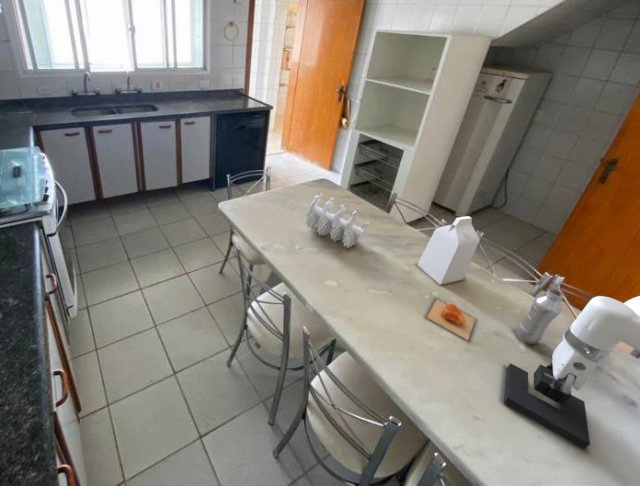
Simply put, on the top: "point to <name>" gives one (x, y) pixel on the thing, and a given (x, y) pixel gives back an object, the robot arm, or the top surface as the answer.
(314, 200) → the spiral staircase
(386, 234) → the top surface
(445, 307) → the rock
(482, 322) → the top surface
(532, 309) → the plastic bottle
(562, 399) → the dark grey square block
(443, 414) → the top surface
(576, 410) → the dark grey u-shaped block
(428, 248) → the milk
